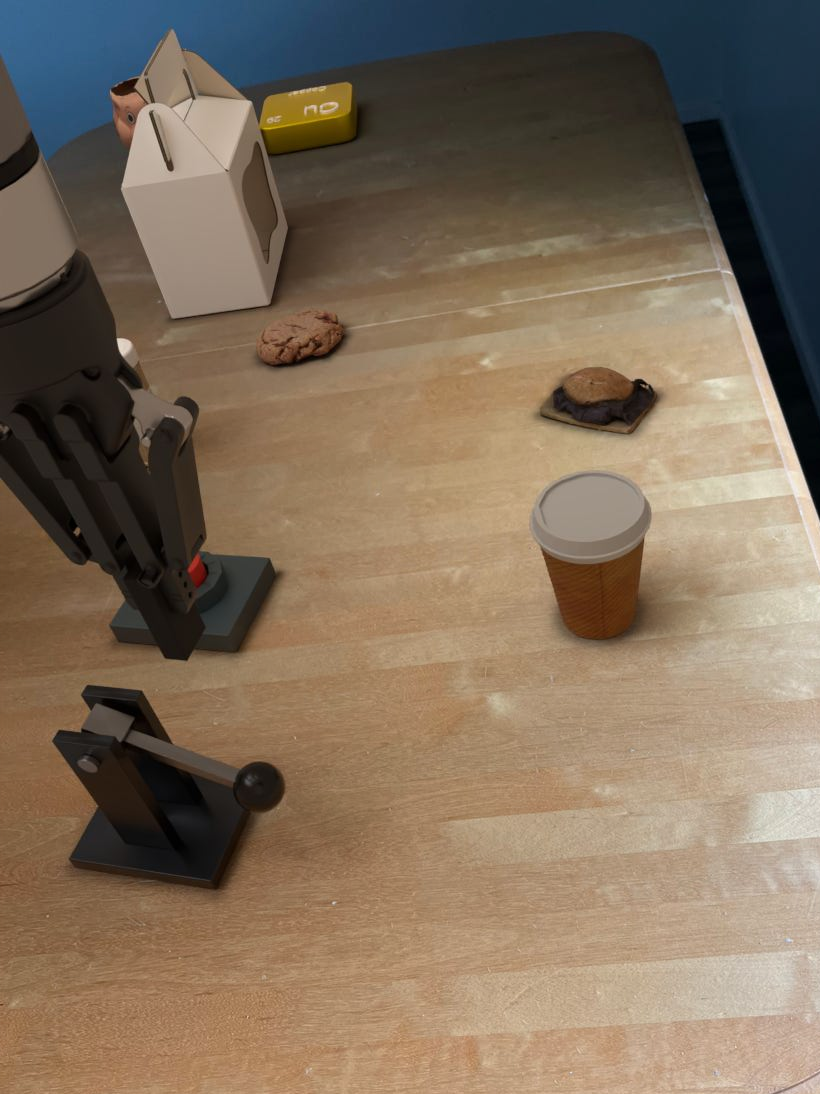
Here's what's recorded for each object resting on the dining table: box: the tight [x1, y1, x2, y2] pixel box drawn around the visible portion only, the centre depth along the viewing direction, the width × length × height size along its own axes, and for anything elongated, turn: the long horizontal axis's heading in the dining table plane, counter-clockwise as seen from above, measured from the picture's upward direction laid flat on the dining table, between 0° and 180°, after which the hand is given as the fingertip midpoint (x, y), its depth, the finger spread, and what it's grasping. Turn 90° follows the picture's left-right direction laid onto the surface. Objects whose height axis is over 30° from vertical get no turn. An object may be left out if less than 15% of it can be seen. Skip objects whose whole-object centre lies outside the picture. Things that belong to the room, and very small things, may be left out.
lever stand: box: [51, 684, 252, 890], centre depth 76 cm, size 12×9×14 cm
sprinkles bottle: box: [117, 337, 154, 468], centre depth 111 cm, size 5×5×14 cm
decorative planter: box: [109, 75, 147, 151], centre depth 167 cm, size 20×12×14 cm, turn 12°
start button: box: [188, 554, 207, 588], centre depth 95 cm, size 4×4×2 cm
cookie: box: [256, 308, 344, 366], centre depth 127 cm, size 10×11×3 cm
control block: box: [108, 550, 277, 653], centre depth 97 cm, size 12×10×4 cm
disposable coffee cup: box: [528, 469, 653, 640], centre depth 86 cm, size 10×10×12 cm
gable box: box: [120, 28, 289, 320], centre depth 134 cm, size 22×13×28 cm, turn 1°
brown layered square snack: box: [538, 366, 658, 435], centre depth 109 cm, size 11×8×4 cm
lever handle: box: [80, 703, 287, 814], centre depth 73 cm, size 14×4×4 cm, turn 76°
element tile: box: [258, 81, 358, 156], centre depth 173 cm, size 15×15×5 cm
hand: (185, 642), depth 63 cm, fingers closed
